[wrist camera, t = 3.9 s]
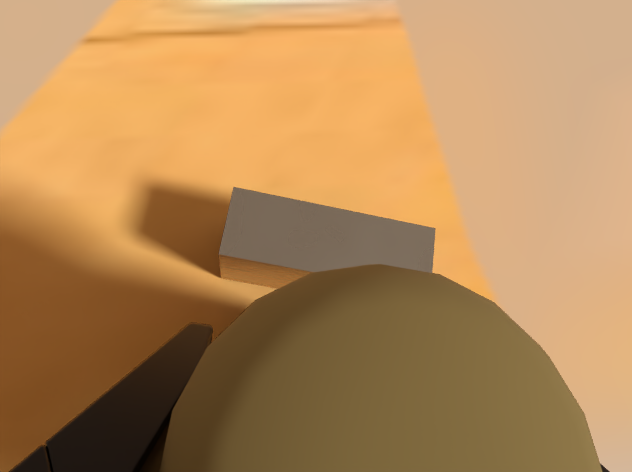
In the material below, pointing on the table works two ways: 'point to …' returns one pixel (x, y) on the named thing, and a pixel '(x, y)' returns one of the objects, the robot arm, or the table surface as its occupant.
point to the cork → (376, 385)
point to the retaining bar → (312, 240)
